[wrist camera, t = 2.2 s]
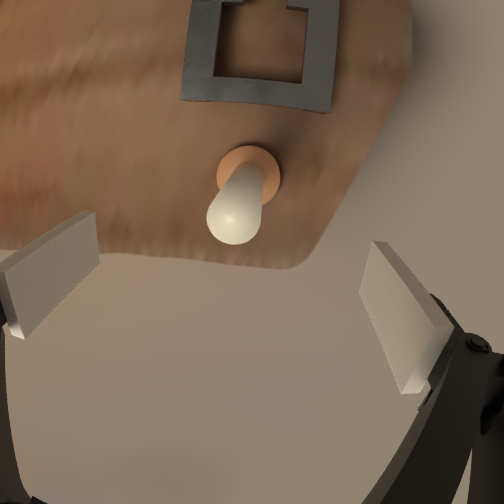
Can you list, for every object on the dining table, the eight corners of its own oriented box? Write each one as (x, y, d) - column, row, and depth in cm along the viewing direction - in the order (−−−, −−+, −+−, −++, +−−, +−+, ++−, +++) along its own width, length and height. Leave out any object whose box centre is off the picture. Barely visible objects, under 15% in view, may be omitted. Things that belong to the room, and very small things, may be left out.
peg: (221, 142, 29) (182, 161, 16) (283, 148, 29) (294, 172, 16) (216, 201, 31) (180, 261, 19) (276, 207, 31) (280, 273, 19)
